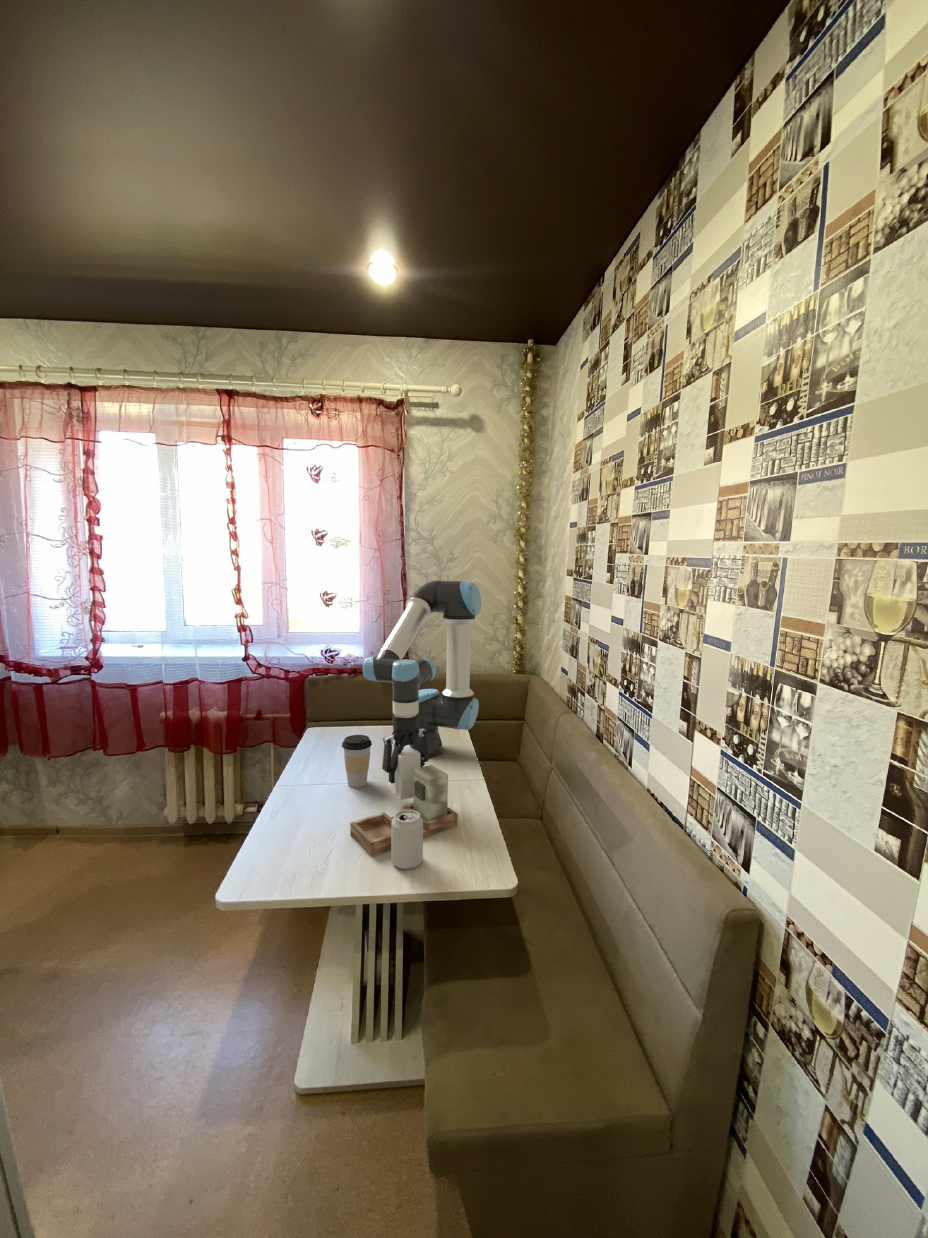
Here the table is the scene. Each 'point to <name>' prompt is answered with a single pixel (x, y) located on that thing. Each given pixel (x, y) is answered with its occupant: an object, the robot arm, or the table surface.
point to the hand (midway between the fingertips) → (406, 789)
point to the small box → (407, 771)
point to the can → (407, 839)
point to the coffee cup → (357, 759)
